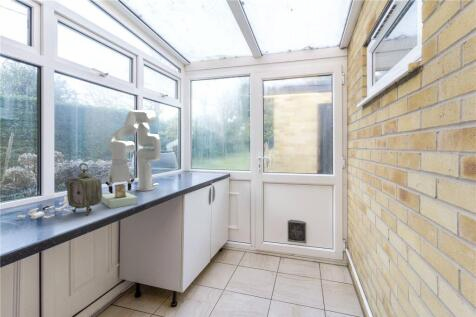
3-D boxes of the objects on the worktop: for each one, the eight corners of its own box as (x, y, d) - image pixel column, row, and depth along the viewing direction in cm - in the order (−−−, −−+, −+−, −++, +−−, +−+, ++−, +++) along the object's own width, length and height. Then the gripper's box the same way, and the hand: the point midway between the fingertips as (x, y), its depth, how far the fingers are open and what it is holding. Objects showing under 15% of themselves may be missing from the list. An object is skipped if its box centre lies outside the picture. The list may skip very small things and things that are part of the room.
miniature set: (82, 200, 138) (100, 204, 135) (16, 222, 103) (38, 228, 101) (83, 190, 137) (100, 194, 135) (16, 209, 102) (39, 215, 100)
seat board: (126, 198, 146) (125, 191, 146) (137, 203, 132) (137, 197, 132) (101, 201, 137) (101, 195, 137) (110, 208, 122) (110, 201, 122)
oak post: (123, 202, 135) (123, 184, 135) (125, 203, 132) (125, 184, 131) (115, 203, 132) (114, 184, 132) (117, 205, 129) (117, 185, 128)
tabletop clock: (68, 213, 114) (65, 163, 112) (86, 208, 122) (85, 162, 120) (85, 217, 107) (83, 164, 106) (104, 212, 116) (102, 163, 114)
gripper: (132, 161, 139) (133, 188, 141) (100, 162, 128) (101, 192, 129) (137, 161, 134) (138, 190, 135) (104, 163, 122) (105, 195, 123)
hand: (120, 191), depth 132 cm, fingers open, 9 cm apart
